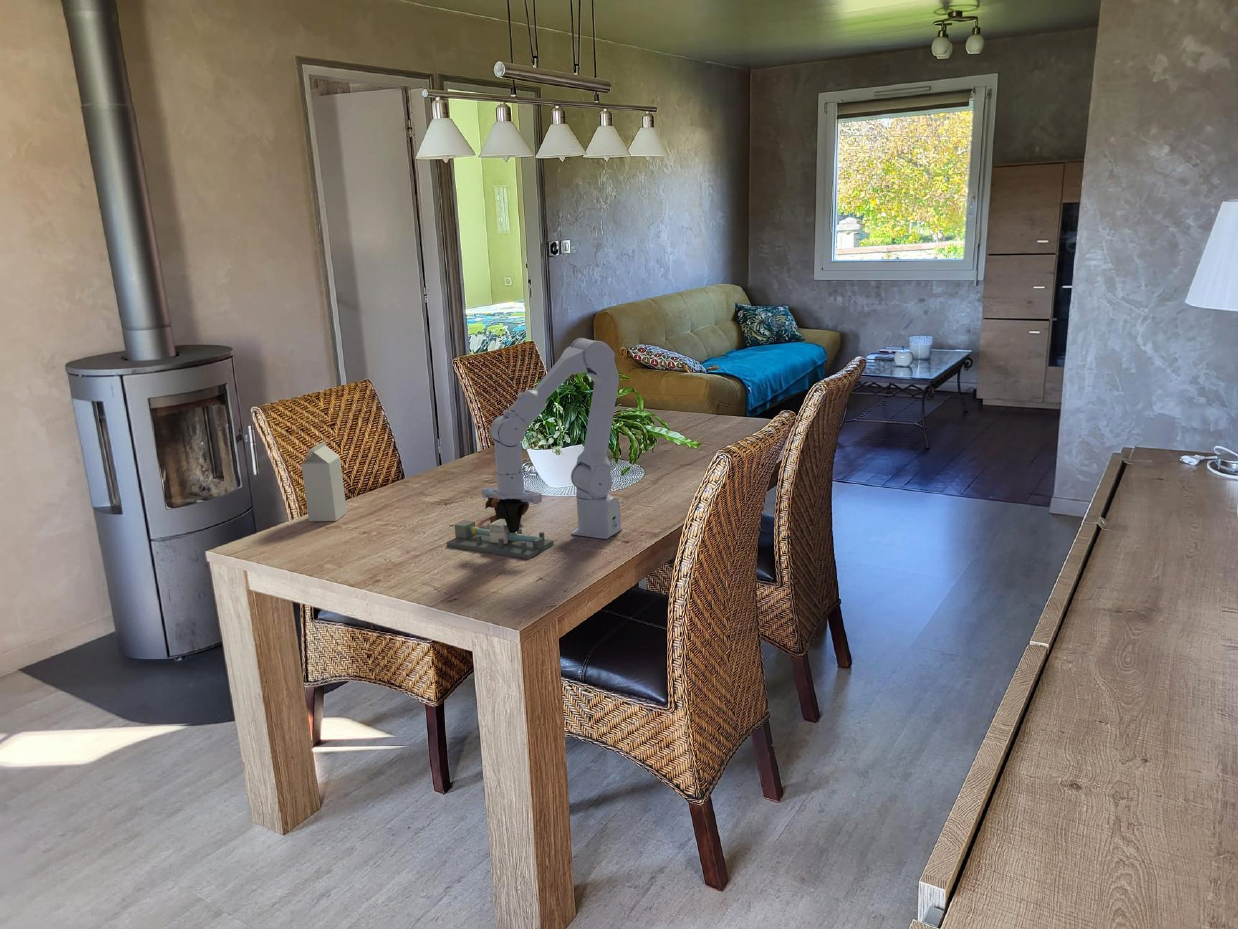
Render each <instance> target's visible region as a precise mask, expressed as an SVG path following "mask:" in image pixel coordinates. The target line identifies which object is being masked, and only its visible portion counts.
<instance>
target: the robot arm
mask: <svg viewBox="0 0 1238 929" xmlns="http://www.w3.org/2000/svg"><path fill="white" fill-rule="evenodd" d="M615 355H616V353H615V352H614V350H612V348H611V347H610V346H609V345H608V344H607V343H606V342H604V341H602V340H593V339H588V338H585V337H579V338H576V339H574V340H573V341H572V343H571V344H570V346H568V347H566V348H565V349H564V350H563V353H562V354H561V355H560V357H559V358H558V359H557V361H556V362H555V363H554V365H553V366H552V367H551V369H549V371H547V372H546V374H545V375H544V377H542V379H541V380H540V381H539V383H537V385H536V386H535V388H533V389H526V390H524V392H519V393H518V394H517V395H516V396H517V399H516V400H515V401H514V402H513V403H512V405H511V406H510V407H509V408H508V409H504V410H503V412H502V414H503V415H500V416H497V417H496V418H495V419H493V421H492V422H491V426H490V428H489V429H488V432H489V433H488V434H489V435H490V438H491V439H492V440H493V442H494V458H495V470H496V473H495V474H496V484H497V486H496V487H490V486H489V487H488V486H487V487H485V488H484V487H483V488H482V489H481V495H482V498H484V499H488V497H490V498H498V499H500V500H499V502H498V503H496V504H497V507H498V509H499V510H500V512H501V513H502V515H503V517H504V519H505V521H506V524H507V527H508V530H509V532H510V533H515V532H516V533H517V531H519V529H520V526H521V520H522V517H523V515H522V514H523V511H524V508H525V506H526V504H527V502H528V503H533V505H539V504H540V503H543V499H542V496H543V495H542V493H541V492H536V491H533V490H530V489H525V483H524V470H523V468H524V466H523V456H522V452H523V451H522V444H521V442H522V441H523V440H524V438H525V434H526V430H527V429H528V428H529V427H530V426H531V425H532V423H533V422H534V421H535V420H536V419H537V418H538V417H539V416H540V415H541V413H542V412H544V410H545V409H546V403H547V399H548V398H549V397H550V396H552V394H553V393H554V392H555V391H556V390H558V388H559V387H560V386H561V385H562V384H563V383H564V382H566V381H567V380H568V379H569V378H570V377H571V376H572V375H577V374H581V373H582V374H583V373H586V375H587V376H589V378H590V379H591V380H592V382H593V390H592V396H591V402H590V407H589V413H588V420H587V427H586V433H585V439H584V446H583V450H582V452H581V453H580V454H579V455H578V457H577V460H576V463H575V466H574V467H573V468H572V470H571V472H570V480H571V483H572V485H573V486H574V487H575V488H576V493H575V495H576V510H577V511H576V512H577V528H576V529H574V530H572V531H571V532H570V535H573V536H581V537H586V538H587V537H588V538H595V539H601V540H602V539H603V540H607V539H609V538H610V537H612V536H613V535H615V534H617V533H618V532H620V531H622V530H623V526H622V523H621V522H622V521H621V520H622V519H621V503H620V501H619V499H618V498H617V497H615V496H612V495H610V494H609V493H610V491H611V489H612V486H613V478H612V475H611V470H612V465H611V462H610V460H609V457H608V450H609V444H610V438H611V433H612V432H611V431H612V426H613V419H614V413H615V410H616V409H615V408H616V402H617V397H618V395H617V394H618V390H619V384H620V375H619V370H618V369H617V365H616V361H615Z"/></svg>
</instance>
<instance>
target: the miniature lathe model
mask: <svg viewBox="0 0 1238 929" xmlns="http://www.w3.org/2000/svg"><path fill="white" fill-rule="evenodd" d="M522 530H523V529H522V528H521V529H520V528H519V531H517V532H516V534H515V533H507V537H508V543H506V544H504V540H503V539H501V538H500V539H498V543H494V542H490V530H489V529H487V528H480V527H479V526H476V522H475V521H473V520H472V521H471V520H467V519H465V520H462V521H459V522H457V523H455V524H454V535H455V537H454V538H452V539H450V540H448V541H446V547H451V548H454V549H456V548H457V549H461V550H466V551H467V550H468V551H473V552H481V553H487V554H493V555H500V556H504V557H506V556H507V557H511V558H512V557H513V558H519V559H524V560H530V559H531V558H533V557H534V556H537V555H538V554H540V553H541V552H544V551H545V550H546V549H549V548H550V547H552V546H554V545H555V542H554V539H549V538H547V539H546V538H545V532H544V531H540V532H538V536H535V535H530V534H529V535H527V534H523V531H522Z"/></svg>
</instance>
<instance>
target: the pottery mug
mask: <svg viewBox="0 0 1238 929" xmlns="http://www.w3.org/2000/svg"><path fill="white" fill-rule="evenodd" d="M499 500H500V499H498V498H490V497H487V500H486V501H485V504H484V505H485V508H484V509H485V510H487V509H488V508H492V509H494V512H495V514H494V515H492V516H491V515H490V516H489V521H490V524H491V523H493V522H495V521H497V520H499V519H504V517H503V515H502V513H501V512H500V510H499V509H498V507H497V504H496V503H498V502H499ZM529 503H530V502H527V504H526V506H525V508H524V511H523V514H522V516H523V515H525V514H526V513H527V511H528V510H529V506H530V504H529Z"/></svg>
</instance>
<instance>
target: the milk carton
mask: <svg viewBox="0 0 1238 929" xmlns="http://www.w3.org/2000/svg"><path fill="white" fill-rule="evenodd" d="M306 456H307V458H305V460H304V461H303V462H302V463H301V464H300V465H301V472H302V479H303V480H302V481H303V488H304V493H305V494H304V495H305V503H306V511H307V515H308V516H307V518H308V522H337V521H338V520H339V519H342V517H343V516H345V515H346V514H347V512H348V511H347V503H346V495H345V487H344V479H343V470H342V462H341V456H340V455H339V454H337V453H336V452H335V451H334V450H332V449H331V448H330V447H328V446H327V445H326V441H325V440H323V441H322V442H320V443H318V444H316V445H315V446H313V447H312V448H310V450H309V451H308V452H306Z"/></svg>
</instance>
